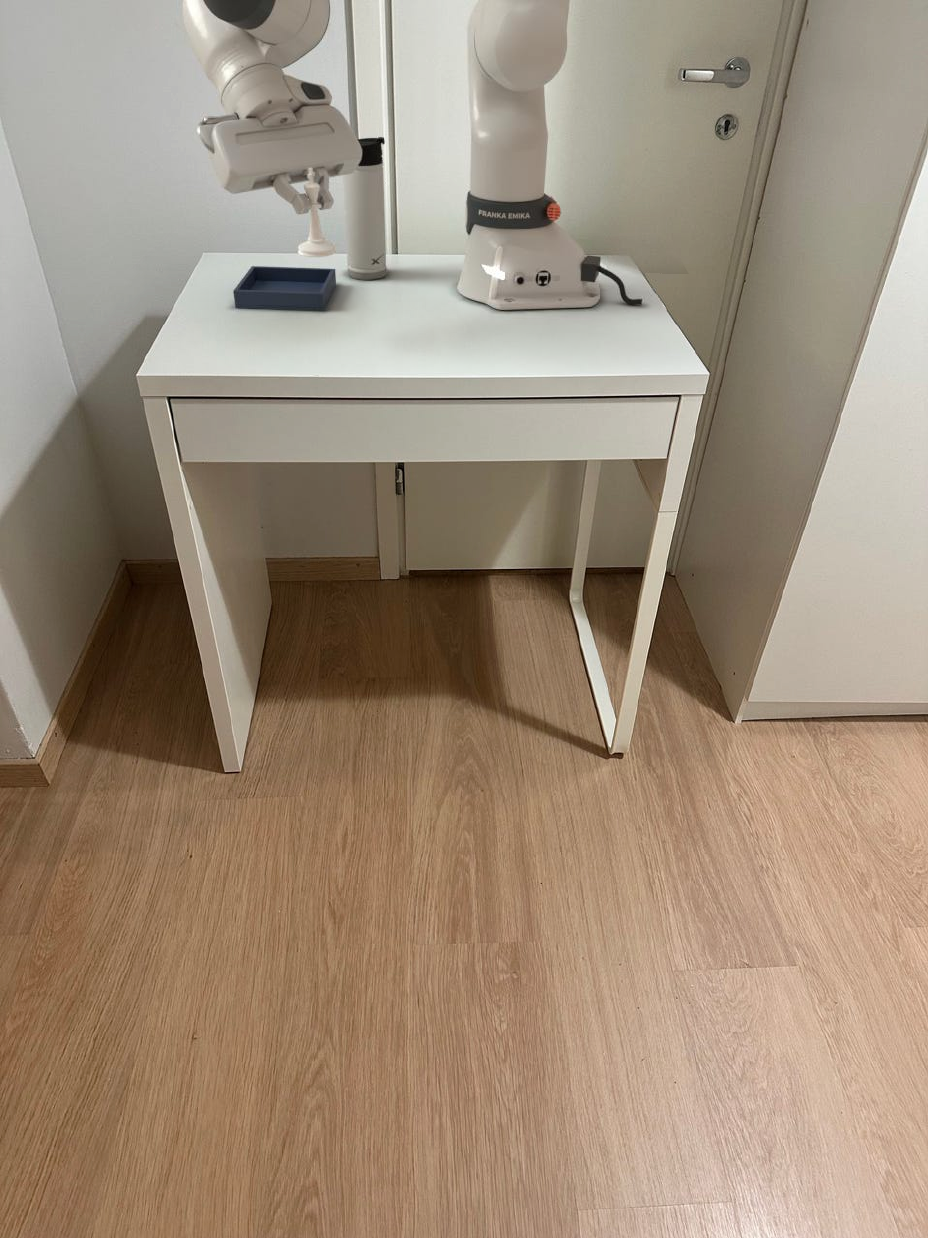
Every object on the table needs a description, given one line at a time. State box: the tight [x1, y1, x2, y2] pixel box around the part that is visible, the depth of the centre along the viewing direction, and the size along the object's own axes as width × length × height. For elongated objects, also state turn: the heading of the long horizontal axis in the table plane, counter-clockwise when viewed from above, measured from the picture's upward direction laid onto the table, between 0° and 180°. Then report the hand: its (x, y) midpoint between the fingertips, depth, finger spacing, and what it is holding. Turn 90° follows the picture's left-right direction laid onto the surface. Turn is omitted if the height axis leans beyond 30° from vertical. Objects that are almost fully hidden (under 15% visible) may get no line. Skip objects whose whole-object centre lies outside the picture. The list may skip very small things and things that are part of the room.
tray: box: [232, 265, 337, 312], centre depth 134 cm, size 13×12×2 cm
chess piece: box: [297, 168, 337, 258], centre depth 112 cm, size 5×5×10 cm
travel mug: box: [342, 136, 387, 281], centre depth 138 cm, size 6×7×20 cm
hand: (316, 208), depth 112 cm, fingers closed on chess piece, 2 cm apart
